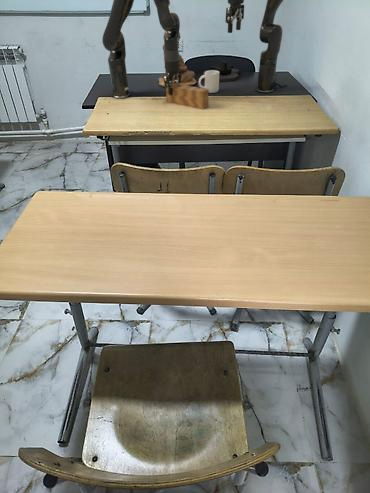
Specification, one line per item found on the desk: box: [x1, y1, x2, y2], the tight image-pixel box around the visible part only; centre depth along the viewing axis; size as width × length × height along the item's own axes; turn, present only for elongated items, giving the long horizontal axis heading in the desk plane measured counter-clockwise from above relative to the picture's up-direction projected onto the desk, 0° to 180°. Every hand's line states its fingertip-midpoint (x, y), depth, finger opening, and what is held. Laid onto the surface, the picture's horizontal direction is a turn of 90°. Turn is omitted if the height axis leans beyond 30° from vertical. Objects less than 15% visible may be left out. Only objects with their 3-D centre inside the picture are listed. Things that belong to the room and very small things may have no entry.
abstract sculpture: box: [202, 58, 240, 83], centre depth 228 cm, size 25×9×20 cm
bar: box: [165, 83, 209, 110], centre depth 191 cm, size 24×5×9 cm, turn 56°
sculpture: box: [157, 30, 198, 88], centre depth 214 cm, size 27×24×30 cm
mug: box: [197, 69, 220, 94], centre depth 205 cm, size 12×8×10 cm
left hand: (173, 93), depth 195 cm, fingers closed on bar, 4 cm apart
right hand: (234, 31), depth 176 cm, fingers open, 8 cm apart
